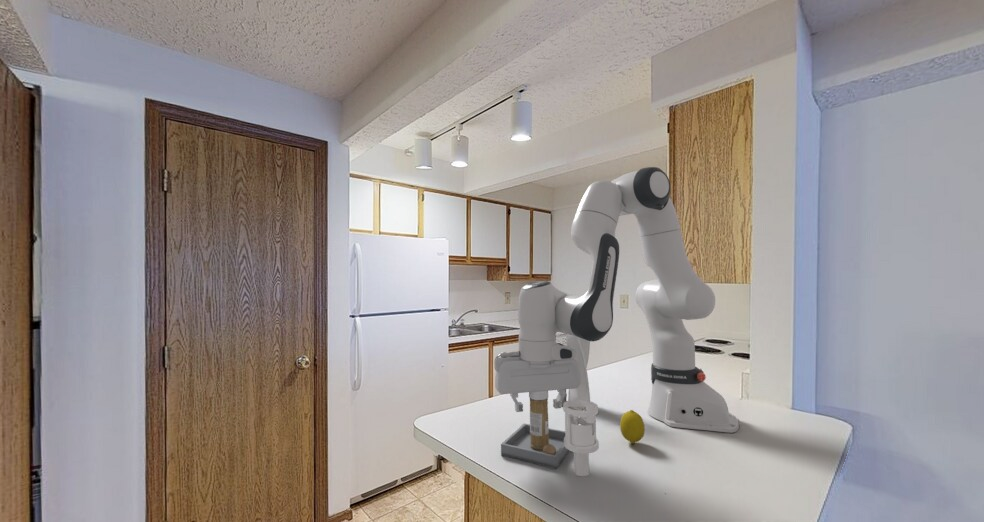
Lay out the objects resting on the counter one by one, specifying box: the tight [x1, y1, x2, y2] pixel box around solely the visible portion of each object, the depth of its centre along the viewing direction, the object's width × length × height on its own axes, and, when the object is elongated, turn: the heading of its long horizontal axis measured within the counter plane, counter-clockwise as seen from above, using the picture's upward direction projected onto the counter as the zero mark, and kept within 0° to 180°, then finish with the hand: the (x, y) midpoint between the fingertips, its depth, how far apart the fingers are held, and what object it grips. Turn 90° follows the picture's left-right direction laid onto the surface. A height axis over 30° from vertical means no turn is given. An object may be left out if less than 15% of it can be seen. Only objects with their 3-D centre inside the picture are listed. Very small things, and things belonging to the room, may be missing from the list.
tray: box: [500, 423, 571, 470], centre depth 90 cm, size 13×13×2 cm
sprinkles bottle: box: [528, 391, 550, 450], centre depth 90 cm, size 5×5×13 cm
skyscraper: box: [561, 334, 591, 411], centre depth 119 cm, size 8×8×28 cm
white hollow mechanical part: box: [562, 400, 600, 477], centre depth 79 cm, size 7×7×15 cm
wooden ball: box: [543, 444, 556, 455], centre depth 84 cm, size 3×3×3 cm
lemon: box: [619, 409, 645, 445], centre depth 92 cm, size 6×6×8 cm
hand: (538, 409), depth 90 cm, fingers open, 8 cm apart
